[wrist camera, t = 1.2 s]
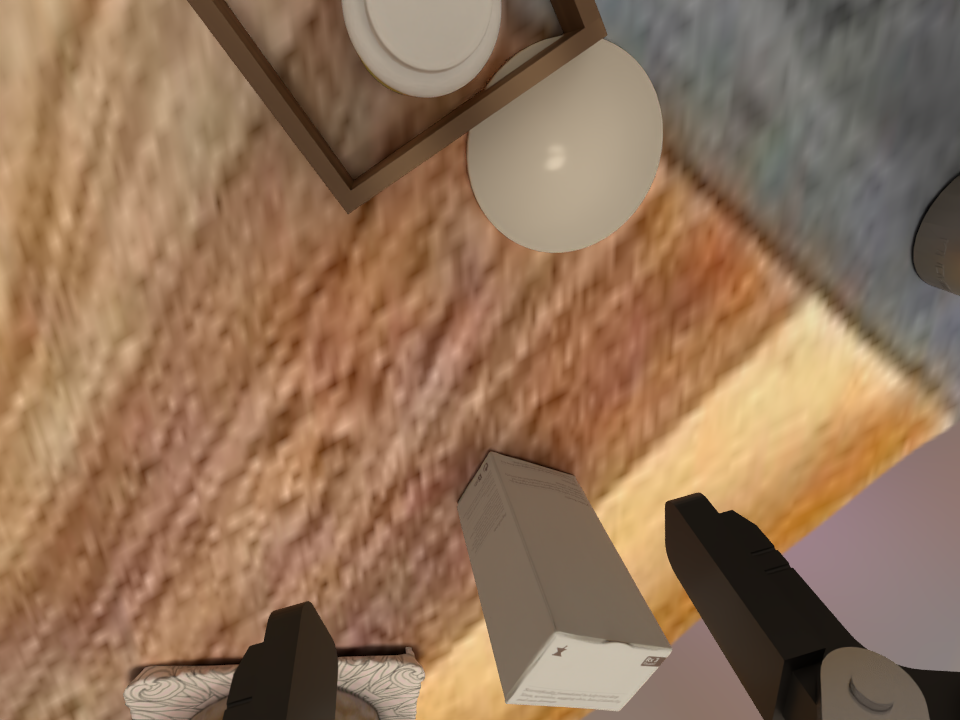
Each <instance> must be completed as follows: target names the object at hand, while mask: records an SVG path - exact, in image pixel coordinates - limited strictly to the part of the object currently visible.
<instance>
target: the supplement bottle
mask: <svg viewBox="0 0 960 720" xmlns="http://www.w3.org/2000/svg"><path fill="white" fill-rule="evenodd" d="M342 9H343V16H344V21H345V25H346V28H347V31H348V34H349V37H350V39H351V42H352V44H353V46H354V48H355V50H356V52H357V54H358V56H359V57H360V59H361V61H362V62H363V64H364V66H365V67H366V69H367V70H368V71H369V73H370V74H371V75H372V76H373V77H374V78H375V79H376V80H377V81H378V82H380V83H381V84H382V85H383V86H385V87H387V88H388V89H390V90H392V91H395V92H397V93H400V94H404V95H408V96H414V97H425V98H430V97H438V96H443V95H446V94H449V93H452V92H454V91H456V90H458V89H460V88H462V87H463V86H465V85H466V84H468V83H469V82H470V81H471V80H472V79H473V78H475V77H476V75H477V74H478V73H479V72H480V71H481V70H482V68H483V67H484V65H485V64H486V63H487V61H488V59H489V57H490V55H491V53H492V51H493V49H494V46H495V44H496V41H497V37H498V34H499V29H500V23H501V0H342Z"/></svg>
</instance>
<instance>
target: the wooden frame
mask: <svg viewBox="0 0 960 720" xmlns="http://www.w3.org/2000/svg"><path fill="white" fill-rule="evenodd" d="M187 1H188V2H189V3H190V5H191V6H192V7H193V9H194V10H195V11H196V13H197V14H198V15H199V17H200V18H201V19H202V21H203V22H204V23H205V25H206V26H207V27H208V29H209V30H210V31H211V33H212V34H213V35H214V37H215V38H216V39H217V41H218V42H219V43H220V45H221V46H222V47H223V49H224V50H225V51H226V53H227V54H228V55H229V57H230V58H231V59H232V61H233V62H234V63H235V65H236V66H237V67H238V69H239V70H240V71H241V73H242V74H243V75H244V77H245V78H246V79H247V81H248V82H249V83H250V85H251V86H252V87H253V89H254V90H255V91H256V93H257V94H258V95H259V97H260V98H261V99H262V101H263V102H264V103H265V105H266V106H267V107H268V109H269V110H270V111H271V113H272V114H273V115H274V117H275V118H276V119H277V121H278V122H279V123H280V125H281V126H282V127H283V129H284V130H285V131H286V133H287V134H288V135H289V137H290V138H291V139H292V141H293V142H294V143H295V145H296V146H297V147H298V149H299V150H300V151H301V153H302V154H303V155H304V156H305V158H306V159H307V160H308V162H309V163H310V164H311V166H312V167H313V168H314V170H315V171H316V172H317V174H318V175H319V176H320V178H321V179H322V180H323V182H324V183H325V184H326V186H327V187H328V188H329V190H330V191H331V192H332V194H333V195H334V196H335V198H336V199H337V200H338V202H339V203H340V204H341V206H342V207H343V208H344V210H345V211H346V212H347V214H349V213H351V212H352V211H353V210H355V209H356V208H358V207H359V206H361V205H362V204H364V203H365V202H366V201H368V200H369V199H371V198H372V197H374V196H375V195H377V194H378V193H379V192H381V191H382V190H384V189H385V188H387V187H388V186H390V185H391V184H393V183H394V182H395V181H397V180H398V179H400V178H401V177H403V176H404V175H406V174H407V173H408V172H410V171H411V170H413V169H414V168H416V167H417V166H419V165H420V164H421V163H423V162H424V161H426V160H427V159H429V158H430V157H432V156H433V155H435V154H436V153H437V152H439V151H440V150H442V149H443V148H445V147H446V146H448V145H449V144H450V143H452V142H453V141H455V140H456V139H458V138H459V137H461V136H462V135H464V134H465V133H466V132H468V131H469V130H471V129H472V128H474V127H475V126H477V125H478V124H479V123H481V122H482V121H484V120H485V119H487V118H488V117H490V116H491V115H492V114H494V113H495V112H497V111H498V110H500V109H501V108H503V107H504V106H506V105H507V104H508V103H510V102H511V101H513V100H514V99H516V98H517V97H519V96H520V95H521V94H523V93H524V92H526V91H527V90H529V89H530V88H532V87H533V86H534V85H536V84H537V83H539V82H540V81H542V80H543V79H545V78H546V77H548V76H549V75H550V74H552V73H553V72H555V71H556V70H558V69H559V68H561V67H562V66H563V65H565V64H566V63H568V62H569V61H571V60H572V59H574V58H575V57H577V56H578V55H579V54H581V53H582V52H584V51H585V50H587V49H588V48H590V47H591V46H592V45H594V44H595V43H597V42H598V41H600V40H601V39H603V38H604V37H605V36H607V32H606V30H605V27H604V24H603V22H602V19H601V16H600V14H599V11H598V9H597V6H596V3H595V1H594V0H550V1H551V3H552V6H553V8H554V11H555V13H556V15H557V18H558V20H559V23H560V25H561V27H562V30H563V32H564V34H563V35H564V36H562V37H561V38H559V39H558V40H556V41H555V42H554V43H552V44H551V45H549V46H548V47H546V48H545V49H544V50H542V51H541V52H539V53H538V54H536V55H535V56H533V57H532V58H531V59H529V60H528V61H526V62H525V63H523V64H522V65H521V66H519V67H518V68H516V69H515V70H513V71H512V72H511V73H509V74H508V75H506V76H505V77H503V78H502V79H501V80H499V81H498V82H496V83H495V84H493V85H492V86H491V87H489V88H488V89H486V90H483V91H481V92H480V93H478V94H477V95H475V96H474V97H473V98H471V99H470V100H468V101H467V102H465V103H464V104H462V105H461V106H460V107H458V108H457V109H455V110H454V111H452V112H451V113H450V114H448V115H447V116H445V117H444V118H442V119H441V120H440V121H438V122H437V123H435V124H434V125H432V126H431V127H430V128H428V129H427V130H425V131H424V132H422V133H421V134H420V135H418V136H417V137H415V138H414V139H412V140H411V141H410V142H408V143H407V144H405V145H404V146H402V147H401V148H400V149H398V150H397V151H395V152H394V153H392V154H391V155H390V156H388V157H387V158H385V159H384V160H382V161H381V162H379V163H378V164H377V165H375V166H374V167H372V168H371V169H369V170H368V171H367V172H365V173H364V174H362V175H361V176H359V177H358V178H357V179H355V180H354V181H353V179H352V178H351V176H350V175H349V174H348V172H347V171H346V170H345V168H344V167H343V165H342V164H341V163H340V161H339V160H338V158H337V157H336V156H335V154H334V153H333V151H332V150H331V149H330V147H329V146H328V144H327V143H326V142H325V140H324V139H323V137H322V136H321V135H320V133H319V132H318V130H317V129H316V128H315V126H314V125H313V124H312V122H311V121H310V119H309V118H308V117H307V115H306V114H305V112H304V111H303V110H302V108H301V107H300V105H299V104H298V103H297V101H296V100H295V98H294V97H293V96H292V94H291V93H290V91H289V90H288V89H287V87H286V86H285V85H284V83H283V82H282V80H281V79H280V78H279V76H278V75H277V73H276V72H275V71H274V69H273V68H272V66H271V65H270V64H269V62H268V61H267V59H266V58H265V57H264V55H263V54H262V52H261V51H260V50H259V48H258V47H257V45H256V44H255V43H254V41H253V40H252V39H251V37H250V36H249V34H248V33H247V32H246V30H245V29H244V27H243V26H242V25H241V23H240V22H239V20H238V19H237V18H236V16H235V15H234V13H233V12H232V11H231V9H230V8H229V6H228V5H227V4H226V2H225V1H224V0H187Z"/></svg>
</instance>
